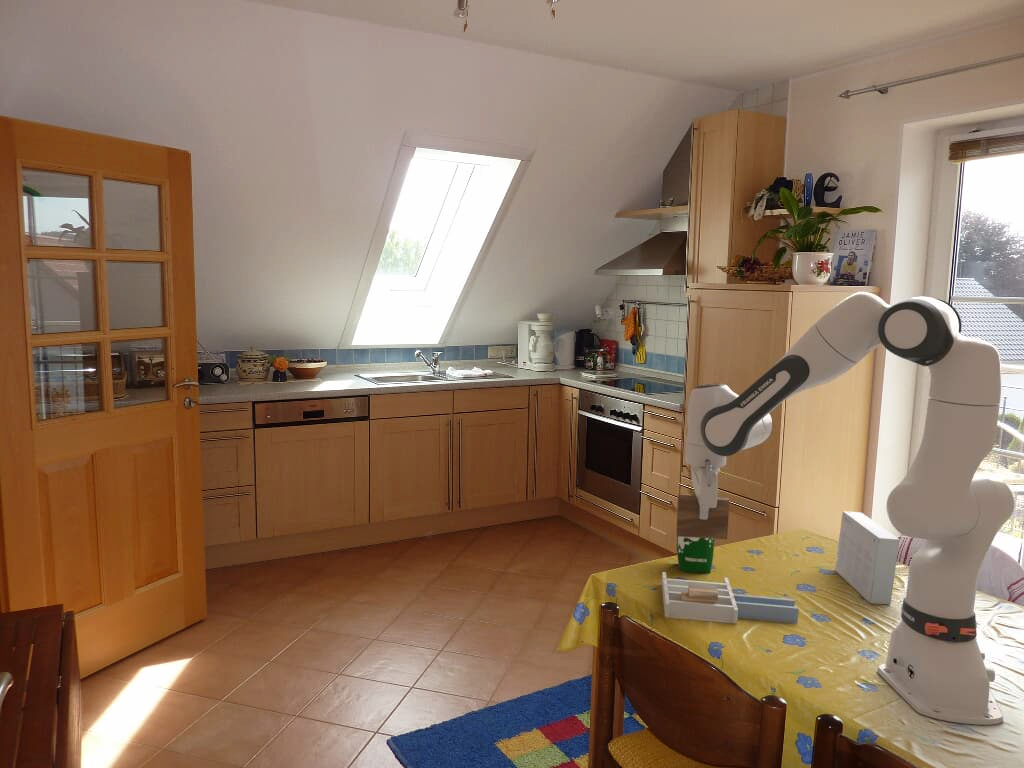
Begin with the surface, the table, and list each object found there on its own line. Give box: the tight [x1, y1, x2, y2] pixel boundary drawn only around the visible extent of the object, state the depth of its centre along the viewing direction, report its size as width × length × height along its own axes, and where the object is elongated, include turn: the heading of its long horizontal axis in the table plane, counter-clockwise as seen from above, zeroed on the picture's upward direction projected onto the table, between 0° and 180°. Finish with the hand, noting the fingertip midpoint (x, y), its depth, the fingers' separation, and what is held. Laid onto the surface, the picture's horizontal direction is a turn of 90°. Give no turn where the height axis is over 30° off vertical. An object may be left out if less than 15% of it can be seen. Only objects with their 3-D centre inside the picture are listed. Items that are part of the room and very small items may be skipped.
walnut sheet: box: [675, 494, 730, 540], centre depth 175 cm, size 2×11×9 cm, turn 82°
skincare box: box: [834, 510, 900, 605], centre depth 188 cm, size 21×6×16 cm, turn 179°
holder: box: [733, 593, 800, 624], centre depth 170 cm, size 6×13×4 cm, turn 81°
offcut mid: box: [681, 592, 715, 604], centre depth 169 cm, size 3×7×2 cm, turn 81°
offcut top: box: [688, 585, 718, 601], centre depth 169 cm, size 3×6×2 cm, turn 81°
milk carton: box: [676, 493, 715, 574], centre depth 195 cm, size 9×9×20 cm
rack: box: [661, 571, 739, 624], centre depth 175 cm, size 18×15×4 cm
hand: (702, 516), depth 175 cm, fingers closed on walnut sheet, 2 cm apart
